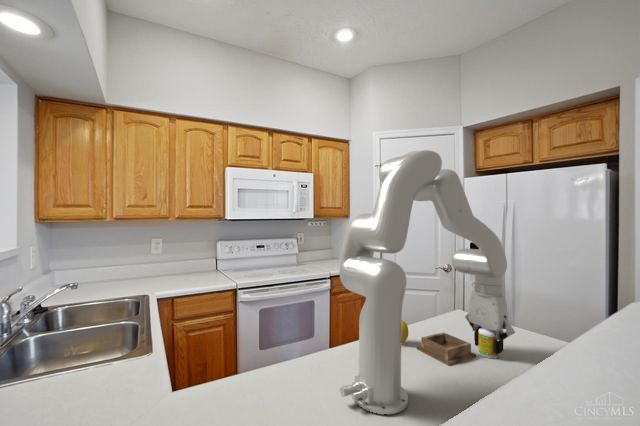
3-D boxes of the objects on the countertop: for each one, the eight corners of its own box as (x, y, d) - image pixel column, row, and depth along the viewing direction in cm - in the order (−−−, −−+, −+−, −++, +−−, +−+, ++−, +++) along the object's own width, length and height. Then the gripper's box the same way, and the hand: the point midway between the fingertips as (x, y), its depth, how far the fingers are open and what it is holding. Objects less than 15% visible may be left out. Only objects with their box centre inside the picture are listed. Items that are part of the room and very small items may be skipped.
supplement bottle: (478, 356, 89) (478, 323, 89) (478, 349, 94) (478, 318, 94) (499, 360, 86) (499, 327, 86) (498, 353, 91) (498, 321, 91)
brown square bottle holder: (448, 365, 83) (448, 352, 83) (416, 348, 93) (416, 336, 93) (476, 357, 88) (476, 344, 88) (443, 342, 99) (443, 330, 99)
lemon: (390, 345, 95) (390, 320, 96) (391, 339, 101) (391, 315, 101) (408, 348, 94) (408, 322, 94) (408, 341, 99) (408, 317, 99)
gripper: (455, 284, 96) (455, 340, 96) (509, 297, 81) (509, 363, 81) (470, 282, 100) (470, 336, 99) (525, 294, 84) (525, 358, 84)
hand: (488, 348), depth 90 cm, fingers closed on supplement bottle, 5 cm apart
